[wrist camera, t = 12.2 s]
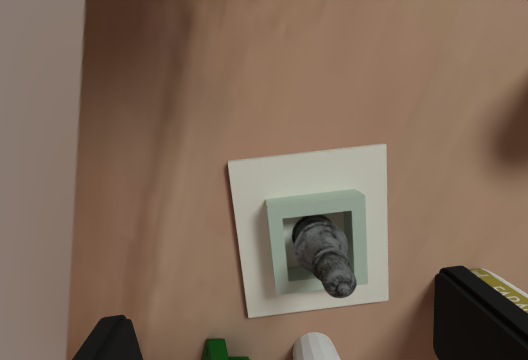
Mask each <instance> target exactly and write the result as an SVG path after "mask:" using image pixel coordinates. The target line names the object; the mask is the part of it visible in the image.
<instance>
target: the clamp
mask: <svg viewBox="0 0 528 360" xmlns="http://www.w3.org/2000/svg"><path fill="white" fill-rule="evenodd" d="M201 360H249V358H248V357H228V353H227V348H226V343H225V340H224V339H207V340H206V343H205V347H204V351H203V355H202V359H201Z"/></svg>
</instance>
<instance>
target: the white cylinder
mask: <svg viewBox="0 0 528 360" xmlns="http://www.w3.org/2000/svg"><path fill="white" fill-rule="evenodd" d="M293 360H341V359H340V357H339V355H338V353H337V351H336V349H335V347H334V345H333V343H332V342H331V340H330V338H328V337H327V336H326V335H324V334H321V333H317V332H314V333H307V334H305V335H303V336H301V337H300V338H299V339H298V340H297V341H296V342H295V344H294V347H293Z"/></svg>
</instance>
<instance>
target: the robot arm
mask: <svg viewBox="0 0 528 360" xmlns="http://www.w3.org/2000/svg"><path fill="white" fill-rule="evenodd" d="M433 347H434V351H435V353H436V355H437V357H438V359H439V360H528V313H527V312H525V311H524V310H523V309H521V308H520V307H519V306H517V305H516V304H515V303H513V302H512V301H511V300H509V299H508V298H506V297H505V296H504V295H502V294H501V293H500V292H498V291H497V290H496V289H494V288H493V287H492V286H490V285H489V284H487V283H486V282H485V281H483V280H482V279H481V278H479V277H478V276H477V275H475V274H474V273H473V272H471V271H470V270H468V269H467V268H466V267H464V266H454V267H447V268H442V269H441V270H440V271H439V274H437V275H436V276H435V299H434V335H433ZM72 360H143V358H142V355H141V351H140V348H139V344H138V341H137V337H136V334H135V331H134V327H133V324H132V321H131V320H130V319H126V317H125V316H124V315H117V316H110V317H104V318H101V320H100V321H99V322H98V323H97V325H96V326H95V328H94V329H93V330H92V332H91V333H90V335H89V336H88V338H87V339H86V341H85V342H84V343H83V345H82V346H81V348H80V349H79V351H78V352H77V353H76V355H75V356H74V358H73V359H72Z"/></svg>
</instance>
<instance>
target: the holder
mask: <svg viewBox="0 0 528 360" xmlns="http://www.w3.org/2000/svg"><path fill="white" fill-rule="evenodd" d="M228 169H229V176H230V184H231V191H232V199H233V206H234V214H235V221H236V229H237V236H238V244H239V251H240V258H241V266H242V273H243V281H244V288H245V296H246V303H247V311H248V318H252V317H260V316H268V315H276V314H284V313H292V312H300V311H308V310H316V309H324V308H332V307H340V306H348V305H356V304H364V303H372V302H380V301H388V236H387V167H386V144H375V145H366V146H357V147H348V148H339V149H330V150H321V151H312V152H303V153H294V154H285V155H276V156H267V157H258V158H249V159H240V160H231V161H228ZM318 214H320V215H323V216H325V217H327V218H328V219H330V221H331V222H332V223H333V224H334V225H336V226H337V227H339V228H340V229H341V230H342V231H343V233H344V234H345V236H346V238H347V243H348V249H347V254H346V255H347V257H348V259H349V263H350V266H349V267H350V269H351V270H352V272H353V273H354V275H355V277H356V282H357V285H356V288H355V290H354V292H353V293H352V294H351V295H349V296H348V297H345V298H335V297H332V296H330V295H329V294H328V293H327V292H326V291H325V289H324V287H323V285H322V282H321V281H320V280H318V279H317V278H316V277H315V276H314V274H313V272H311V271H308V270H306V269H305V268H303V267H302V266H301V265H300V264H299V263H298V262H297V260H296V258H295V255H294V243H293V241H292V230H293V228H294V226H295V224H296V223H297V222H298V220H300V219H301V218H302V217H304V216H309V215H318Z"/></svg>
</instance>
